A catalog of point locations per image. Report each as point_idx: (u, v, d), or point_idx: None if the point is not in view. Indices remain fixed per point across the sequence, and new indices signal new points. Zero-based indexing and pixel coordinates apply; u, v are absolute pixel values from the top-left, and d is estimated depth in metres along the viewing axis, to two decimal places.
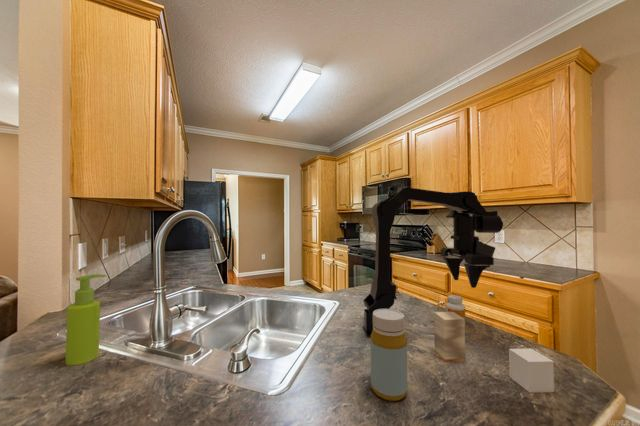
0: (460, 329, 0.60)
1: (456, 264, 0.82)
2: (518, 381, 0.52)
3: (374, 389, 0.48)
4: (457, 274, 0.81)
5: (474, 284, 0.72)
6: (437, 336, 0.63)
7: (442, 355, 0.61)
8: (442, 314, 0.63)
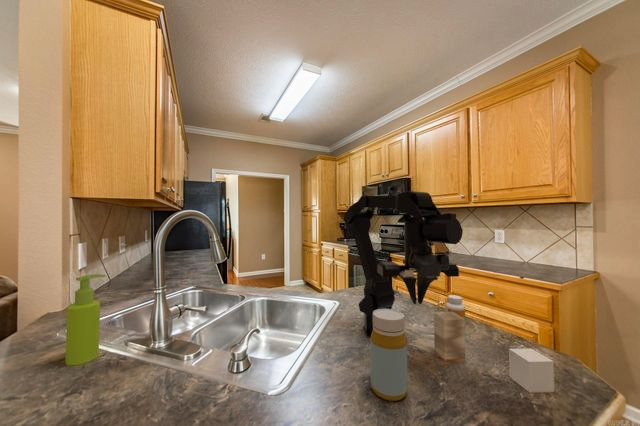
0: (460, 329, 0.60)
1: (421, 283, 0.62)
2: (518, 381, 0.52)
3: (374, 389, 0.48)
4: (419, 296, 0.62)
5: (412, 299, 0.62)
6: (437, 336, 0.63)
7: (442, 355, 0.61)
8: (442, 314, 0.63)
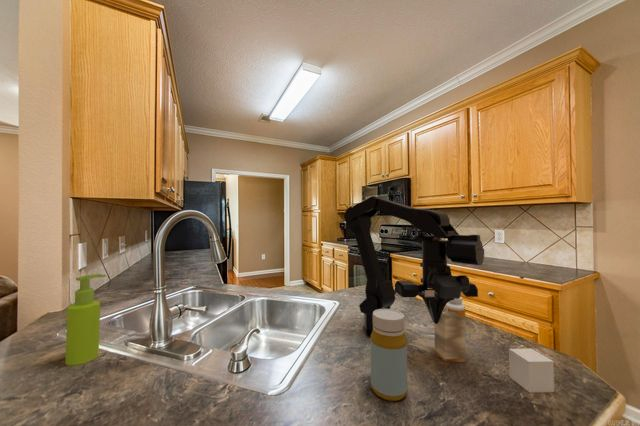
0: (460, 329, 0.60)
1: (437, 303, 0.62)
2: (518, 381, 0.52)
3: (374, 389, 0.48)
4: None
5: (433, 318, 0.62)
6: (437, 336, 0.63)
7: (442, 355, 0.61)
8: (443, 314, 0.63)
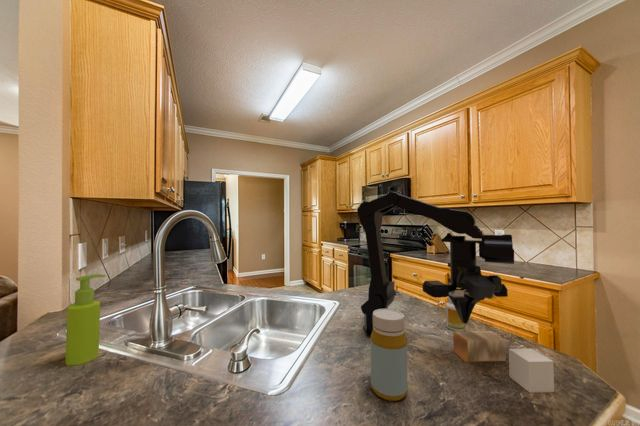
0: (496, 356, 0.60)
1: (466, 303, 0.62)
2: (518, 381, 0.52)
3: (374, 389, 0.48)
4: None
5: (461, 318, 0.62)
6: (474, 333, 0.64)
7: (465, 338, 0.61)
8: None
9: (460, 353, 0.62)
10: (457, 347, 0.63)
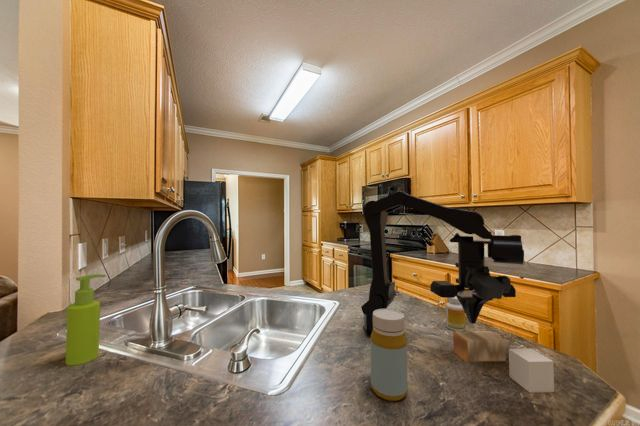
0: (496, 356, 0.60)
1: (474, 303, 0.63)
2: (518, 381, 0.52)
3: (374, 389, 0.48)
4: None
5: (469, 319, 0.63)
6: (474, 333, 0.64)
7: (465, 338, 0.61)
8: None
9: (460, 353, 0.62)
10: (457, 347, 0.63)
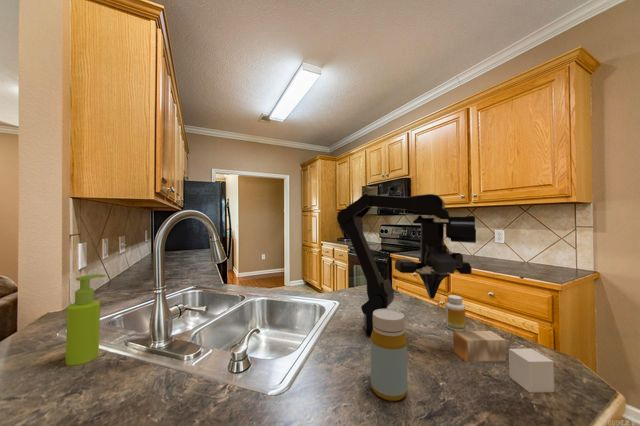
0: (496, 356, 0.60)
1: (433, 279, 0.68)
2: (518, 381, 0.52)
3: (374, 389, 0.48)
4: None
5: (429, 294, 0.68)
6: (474, 333, 0.64)
7: (465, 338, 0.61)
8: None
9: (460, 353, 0.62)
10: (457, 347, 0.63)
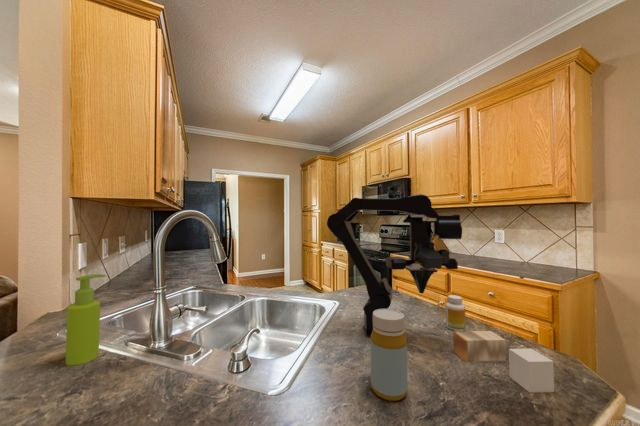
0: (496, 356, 0.60)
1: (423, 275, 0.71)
2: (518, 381, 0.52)
3: (374, 389, 0.48)
4: None
5: (418, 289, 0.71)
6: (474, 333, 0.63)
7: (465, 338, 0.61)
8: None
9: (460, 354, 0.62)
10: (457, 347, 0.63)
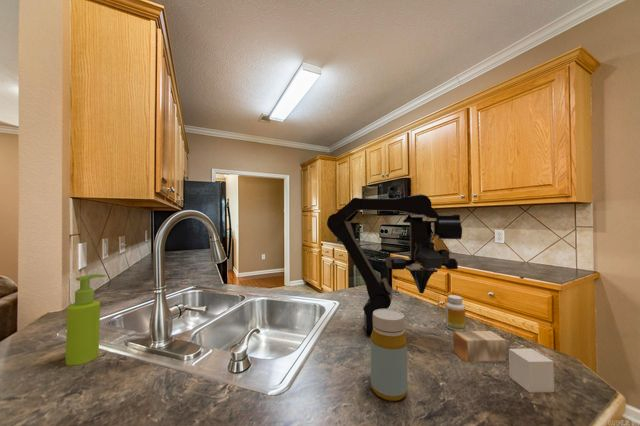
0: (496, 356, 0.60)
1: (423, 275, 0.71)
2: (518, 381, 0.52)
3: (374, 389, 0.48)
4: None
5: (418, 289, 0.71)
6: (474, 333, 0.63)
7: (465, 338, 0.61)
8: None
9: (460, 354, 0.62)
10: (457, 347, 0.63)
